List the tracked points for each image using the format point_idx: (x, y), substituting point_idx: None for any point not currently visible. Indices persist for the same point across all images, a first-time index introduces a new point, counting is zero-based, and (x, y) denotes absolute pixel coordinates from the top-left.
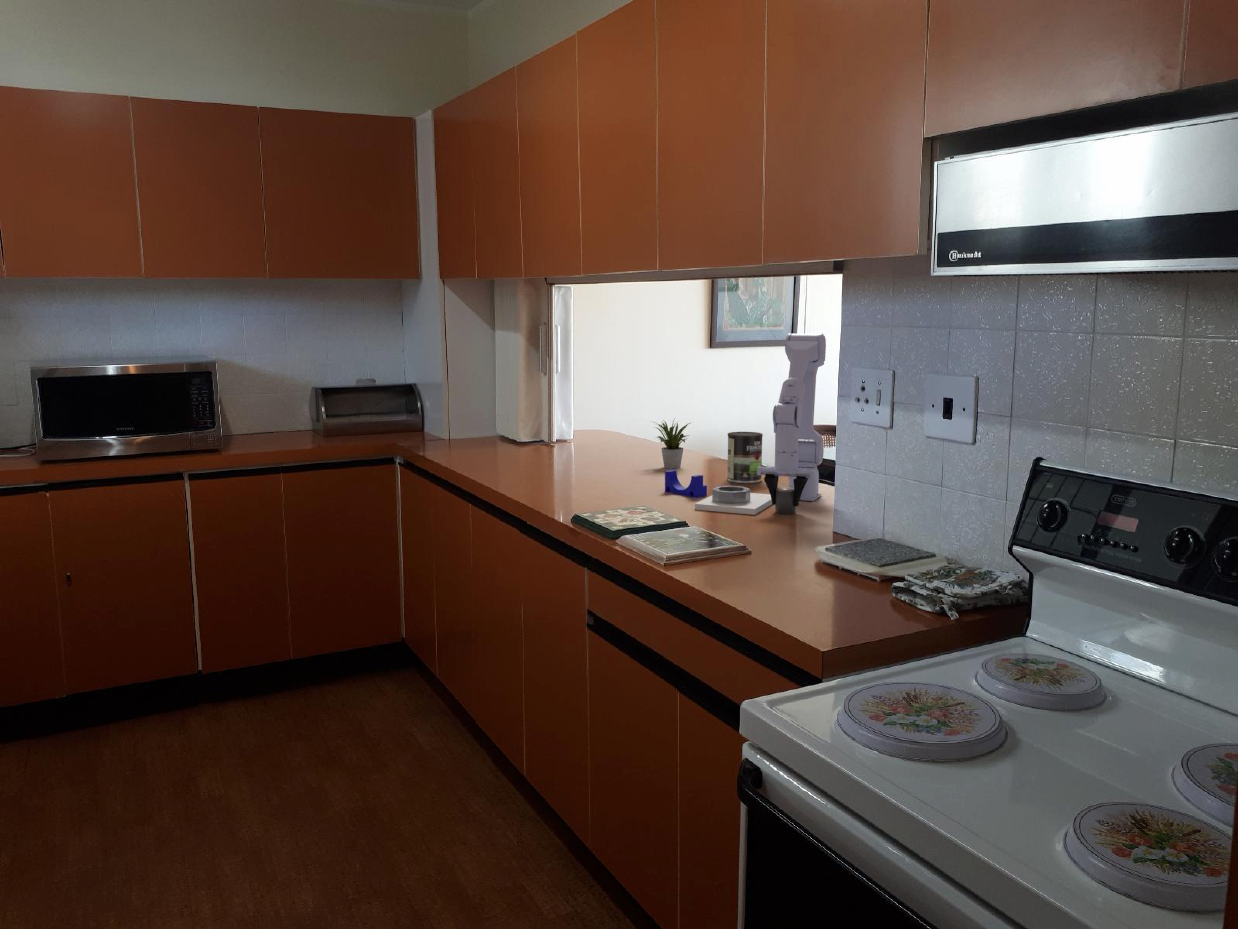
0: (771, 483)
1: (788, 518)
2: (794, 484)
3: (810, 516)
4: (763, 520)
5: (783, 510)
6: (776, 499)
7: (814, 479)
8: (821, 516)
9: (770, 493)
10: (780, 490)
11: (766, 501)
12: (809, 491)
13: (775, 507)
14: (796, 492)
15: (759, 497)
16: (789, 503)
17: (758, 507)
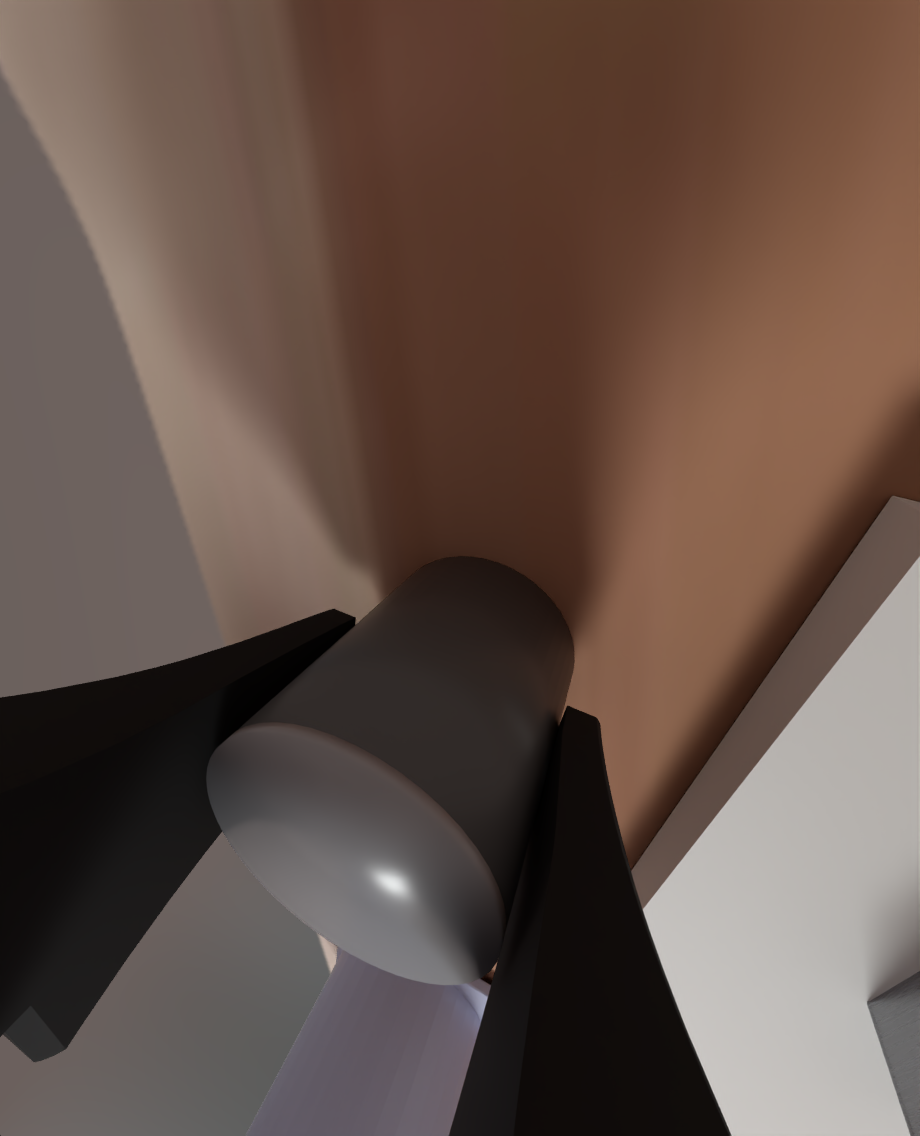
0: (567, 1113)
1: (417, 350)
2: (13, 776)
3: (260, 495)
4: (809, 18)
5: (473, 579)
6: (527, 723)
7: (272, 1087)
8: (198, 506)
9: (616, 850)
10: (394, 785)
11: (656, 909)
12: (341, 987)
13: (563, 677)
14: (180, 685)
15: (715, 1048)
16: (373, 616)
17: (820, 674)
